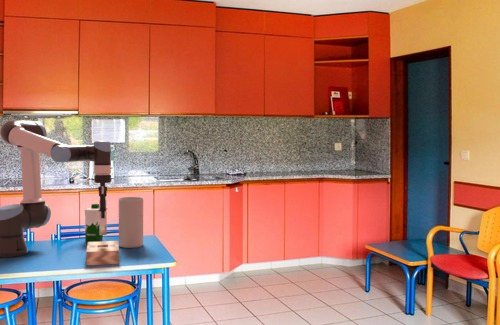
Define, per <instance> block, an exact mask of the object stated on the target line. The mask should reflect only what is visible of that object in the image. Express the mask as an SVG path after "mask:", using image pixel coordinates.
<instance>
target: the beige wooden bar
mask: <svg viewBox="0 0 500 325" xmlns="http://www.w3.org/2000/svg"><path fill="white" fill-rule="evenodd" d="M98 202H99V210H100V199H99V200H98ZM107 210H108V208H107V209H106V225H100V211H99V231H100V235H103V236H106V235H107V232H108V230H107V224H108V223H107V222H108V220H107Z"/></svg>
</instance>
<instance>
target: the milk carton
mask: <svg viewBox="0 0 500 325" xmlns="http://www.w3.org/2000/svg"><path fill="white" fill-rule="evenodd" d="M98 210H99V204H98V203H92V204H91V207H88V208H85V209H84V219H85V220H84V230H85V232H84V234H85V235H84V236H85V237H84V239H85V240H84V241H85V243H88V242H100V241H104V240H103V239H104V235H100V231H99V211H98Z"/></svg>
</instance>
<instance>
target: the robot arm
mask: <svg viewBox="0 0 500 325" xmlns="http://www.w3.org/2000/svg"><path fill="white" fill-rule="evenodd" d="M0 137H1V139H2V141H3V142H4V143H6V144H8V145H12V146H14V147H15V146H16V148H17V149H18V150H19V151H20V159H21V160H20V162H21V179H22V181H21V182H22V183H21V184H22V200H21V201H20V202H19V203H13V204H6V205H3V206H0V258H14V257H20V256H24V255H27V254H28V252H29V250H28V246H27V243H26V241H25V238H24V237H25V236H24V231H25V230H29V229H39V228H40V227H43V226H45V225H47V224H48V223H49V221H50V219H51V217H52V211H51V208H50V207H49V205H48V204H47V203H46V200H45V199H44V198H43V197H42V196H43V195H42V194H43V193H42V180H41V179H42V178H41V177H42V176H41V163H40V161H41V159H40V158H41V157H40V154H43V155H45V156H47V157H50V158H51V159H52V161H54V162H55V163H71V162H75V163H76V162H93V174H94V176H93V178H94V180H93V183H94V184H99V186H98V197H99V200H100V210H98V211H100V225H106V209H107V210H108V207H107V200H106V199H107V198H106V197H107V194H108V192H107V191H108V186H106V184H109V183H111V182H112V175H111V173H112V170H113V167H112V162H111V160H112V147H111V142H110V141H108V140H106V141H105V140H95V141H94V142H93V144H92V145H90V144H79V145H78V144H76V145H75V144H74V145H73V144H72V145H71V144H69V145H68V144H65V143H61V142H60V141H56V140H53V139H52V138H51V139H50V138H49V137H48V133H47V129H46V126H44V125H43V123H41V122H40V121H37V120H36V121H35V120H17V119H13V120H8V121H6V122H5V123H3V124H2V126H1V127H0Z"/></svg>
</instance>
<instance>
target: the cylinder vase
mask: <svg viewBox="0 0 500 325" xmlns="http://www.w3.org/2000/svg"><path fill="white" fill-rule="evenodd" d="M143 245H144V197H140V196H138V197H137V196H127V197H126V196H125V197H120V198H118V247H119V248H124V249H136V248H140V247H143Z"/></svg>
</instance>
